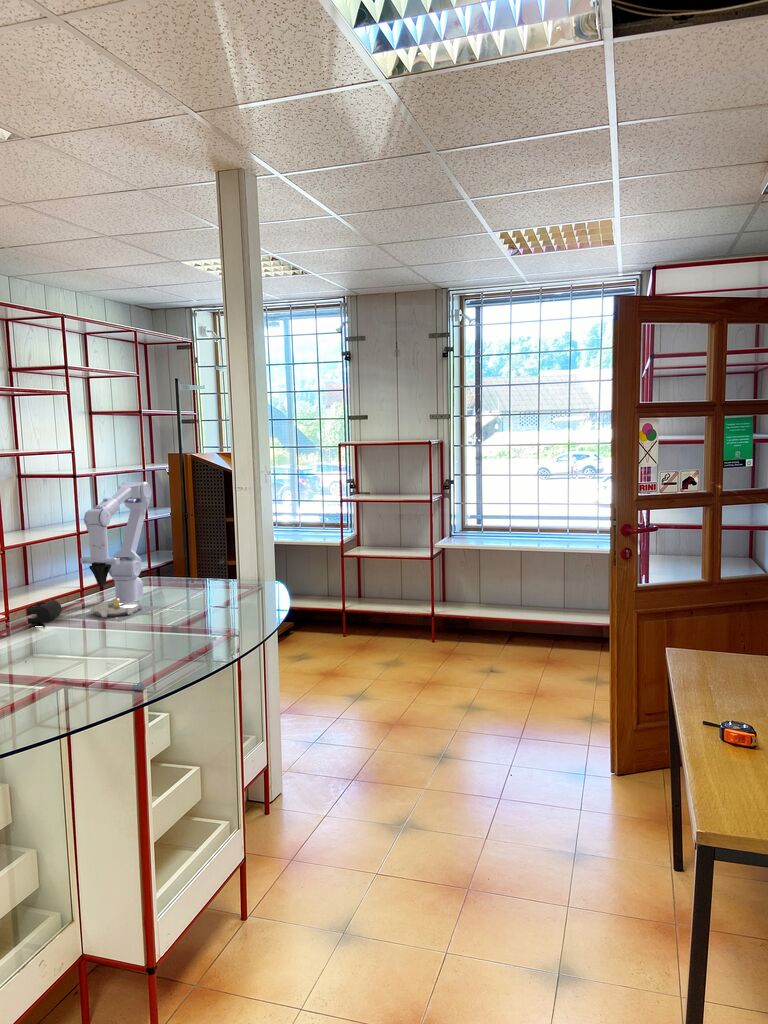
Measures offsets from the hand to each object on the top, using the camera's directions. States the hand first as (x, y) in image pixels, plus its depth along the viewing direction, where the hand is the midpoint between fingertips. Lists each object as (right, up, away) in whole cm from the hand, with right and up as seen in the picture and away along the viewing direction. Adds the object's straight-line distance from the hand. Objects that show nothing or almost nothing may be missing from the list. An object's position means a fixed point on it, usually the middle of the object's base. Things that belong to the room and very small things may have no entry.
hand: (101, 585), depth 241 cm
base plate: (+7, -10, -5) cm, 13 cm away
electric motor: (-14, -11, -11) cm, 21 cm away
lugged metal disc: (+7, -8, -5) cm, 12 cm away
